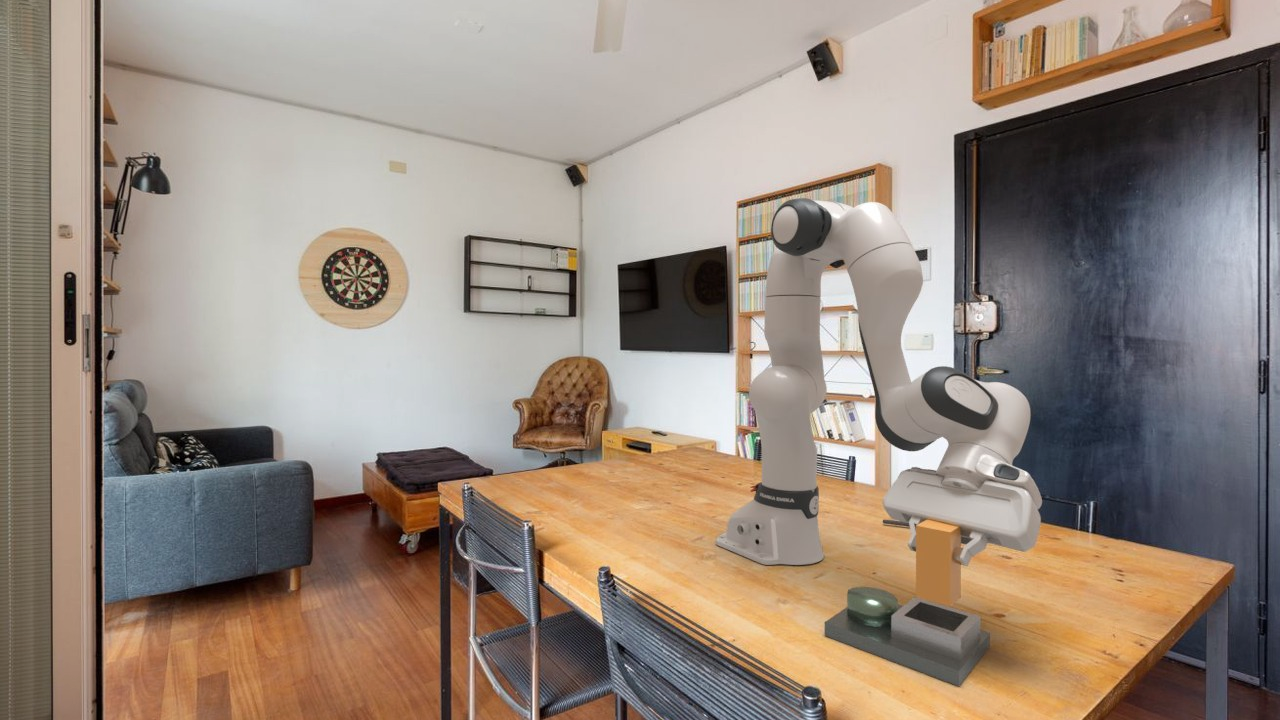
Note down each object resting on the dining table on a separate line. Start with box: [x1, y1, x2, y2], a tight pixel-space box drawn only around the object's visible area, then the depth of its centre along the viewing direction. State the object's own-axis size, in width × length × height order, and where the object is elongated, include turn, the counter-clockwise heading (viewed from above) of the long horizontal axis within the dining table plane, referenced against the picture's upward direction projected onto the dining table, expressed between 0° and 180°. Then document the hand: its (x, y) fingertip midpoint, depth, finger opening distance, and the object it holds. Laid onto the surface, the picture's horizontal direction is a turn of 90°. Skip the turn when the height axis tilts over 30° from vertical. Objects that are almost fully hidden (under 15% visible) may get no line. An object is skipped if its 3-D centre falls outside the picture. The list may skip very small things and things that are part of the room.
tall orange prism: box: [915, 519, 962, 608], centre depth 80 cm, size 4×4×10 cm
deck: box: [824, 586, 991, 687], centre depth 83 cm, size 18×14×5 cm
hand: (936, 555), depth 80 cm, fingers closed on tall orange prism, 5 cm apart
